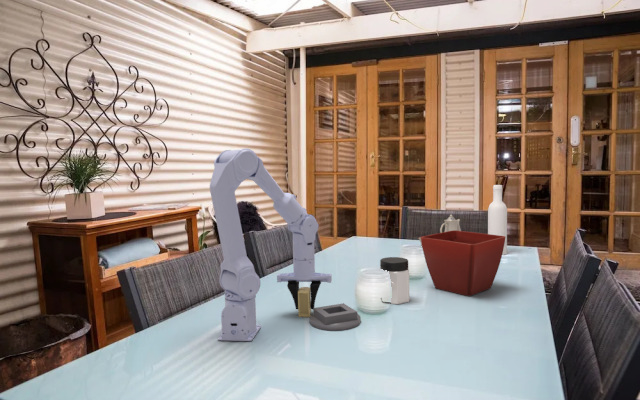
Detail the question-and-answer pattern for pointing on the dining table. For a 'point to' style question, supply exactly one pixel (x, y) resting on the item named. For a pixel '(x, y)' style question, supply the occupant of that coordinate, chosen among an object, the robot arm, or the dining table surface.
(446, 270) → the plant pot
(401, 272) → the jar
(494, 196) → the bottle
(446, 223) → the chinaware
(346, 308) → the hub
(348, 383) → the dining table surface
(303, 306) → the shaft
